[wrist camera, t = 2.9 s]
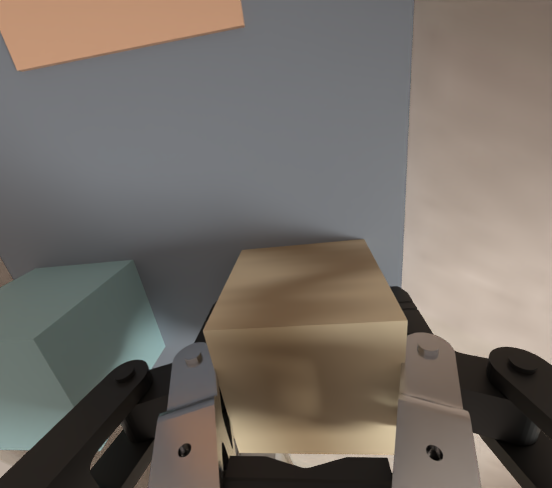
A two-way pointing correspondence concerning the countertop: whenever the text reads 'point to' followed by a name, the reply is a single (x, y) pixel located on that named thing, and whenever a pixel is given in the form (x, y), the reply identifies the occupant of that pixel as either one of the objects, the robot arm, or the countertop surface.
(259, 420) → the maple block
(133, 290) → the teal block
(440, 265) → the countertop surface
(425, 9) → the countertop surface
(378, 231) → the build board
